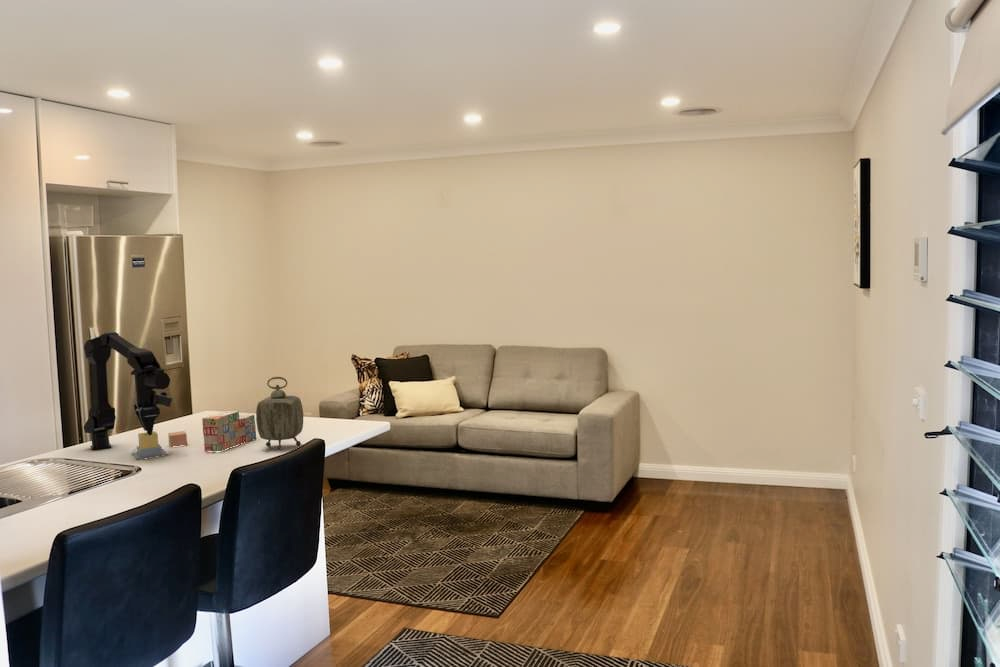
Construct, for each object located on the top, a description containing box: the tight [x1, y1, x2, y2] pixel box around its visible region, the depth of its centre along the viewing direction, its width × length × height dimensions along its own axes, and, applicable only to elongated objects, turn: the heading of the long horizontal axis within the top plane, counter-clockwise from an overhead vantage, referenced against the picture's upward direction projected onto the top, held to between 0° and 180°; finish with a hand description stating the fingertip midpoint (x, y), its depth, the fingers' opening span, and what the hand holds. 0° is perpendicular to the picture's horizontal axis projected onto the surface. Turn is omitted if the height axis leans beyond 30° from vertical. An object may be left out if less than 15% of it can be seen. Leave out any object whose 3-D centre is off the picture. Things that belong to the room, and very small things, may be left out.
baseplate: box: [131, 443, 168, 461], centre depth 289 cm, size 10×10×3 cm
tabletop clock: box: [255, 376, 304, 450], centre depth 291 cm, size 14×9×25 cm, turn 89°
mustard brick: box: [137, 431, 159, 449], centre depth 288 cm, size 6×6×4 cm
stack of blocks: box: [201, 410, 257, 452], centre depth 299 cm, size 21×6×12 cm, turn 161°
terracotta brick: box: [167, 430, 188, 448], centre depth 303 cm, size 6×6×4 cm
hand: (148, 432), depth 288 cm, fingers open, 9 cm apart
